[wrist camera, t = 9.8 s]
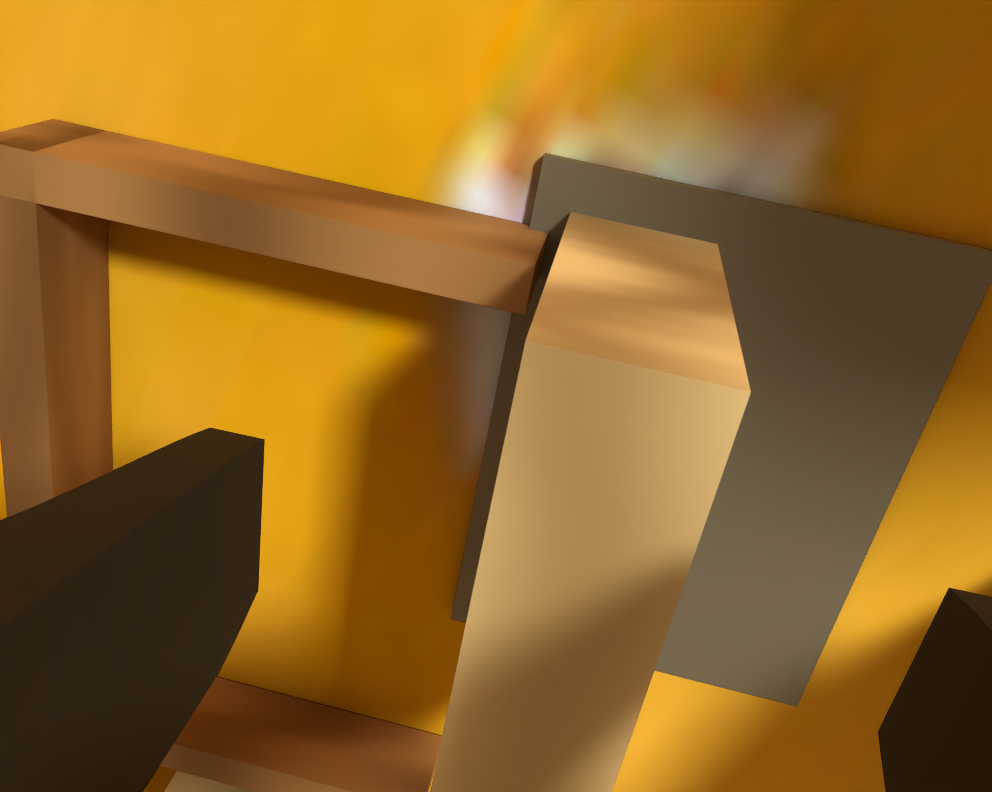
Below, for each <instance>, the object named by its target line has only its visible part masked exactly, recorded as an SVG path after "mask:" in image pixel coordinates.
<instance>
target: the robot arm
mask: <svg viewBox="0 0 992 792" xmlns="http://www.w3.org/2000/svg"><path fill="white" fill-rule="evenodd" d="M264 440H265V439H260V438H256V437H251V436H246V435H242V434H237V433H233V432H228V431H223V430H219V429H214V428H208V429H205V430H203V431H200V432H197V433H195V434H192V435H190V436H187V437H185V438H183V439H181V440H178V441H176V442H174V443H172V444H169V445H167V446H165V447H163V448H161V449H158V450H156V451H154V452H152V453H150V454H148V455H145V456H143V457H141V458H139V459H137V460H135V461H133V462H130V463H128V464H126V465H124V466H122V467H120V468H118V469H115V470H113V471H111V472H109V473H107V474H105V475H102V476H100V477H98V478H96V479H94V480H91V481H89V482H87V483H85V484H83V485H80V486H78V487H76V488H74V489H72V490H69V491H67V492H65V493H63V494H61V495H58V496H56V497H54V498H52V499H50V500H47V501H45V502H43V503H41V504H38V505H36V506H34V507H31V508H29V509H27V510H24V511H22V512H19V513H17V514H14V515H12V516H9V517H7V518H5V519H2V520H0V792H143V791H144V789H145V788H146V786H147V785H148V783H149V781H150V780H151V778H152V777H153V775H154V774H155V772H156V771H157V769H158V768H159V766H160V764H161V763H162V761H163V760H164V758H165V757H166V755H167V754H168V752H169V751H170V749H171V747H172V746H173V744H174V743H175V741H176V740H177V738H178V737H179V735H180V733H181V732H182V730H183V729H184V727H185V726H186V724H187V722H188V721H189V719H190V718H191V716H192V715H193V713H194V711H195V710H196V708H197V707H198V705H199V704H200V702H201V700H202V699H203V697H204V696H205V694H206V693H207V691H208V689H209V688H210V686H211V685H212V683H213V681H214V680H215V678H216V676H217V675H218V673H219V672H220V670H221V668H222V666H223V664H224V662H225V660H226V658H227V656H228V654H229V652H230V650H231V648H232V645H233V643H234V641H235V639H236V637H237V635H238V633H239V631H240V629H241V627H242V624H243V622H244V620H245V618H246V616H247V614H248V611H249V609H250V607H251V605H252V603H253V601H254V598H255V596H256V594H257V592H258V583H259V559H260V535H261V511H262V487H263V464H264ZM878 736H879V744H880V752H881V759H882V767H883V775H884V783H885V789H886V792H992V597H990V596H985V595H980V594H976V593H971V592H967V591H962V590H957V589H953V588H949V589H948V591H947V593H946V595H945V597H944V599H943V601H942V603H941V605H940V607H939V609H938V611H937V613H936V615H935V617H934V619H933V621H932V623H931V625H930V627H929V629H928V631H927V633H926V635H925V637H924V639H923V641H922V643H921V646H920V648H919V650H918V652H917V654H916V656H915V658H914V660H913V662H912V664H911V666H910V668H909V670H908V672H907V674H906V676H905V678H904V680H903V682H902V684H901V686H900V688H899V690H898V692H897V694H896V696H895V698H894V700H893V702H892V704H891V706H890V708H889V710H888V712H887V714H886V717H885V719H884V721H883V723H882V725H881V727H880V729H879V731H878Z"/></svg>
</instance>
